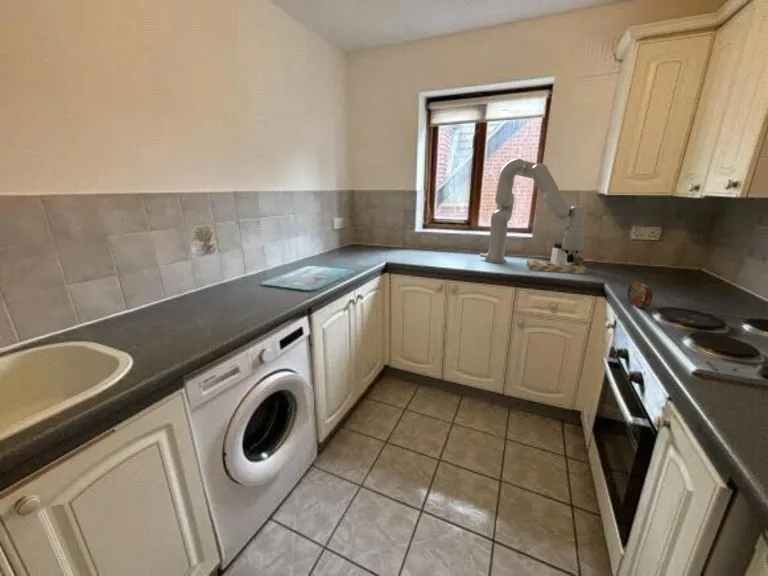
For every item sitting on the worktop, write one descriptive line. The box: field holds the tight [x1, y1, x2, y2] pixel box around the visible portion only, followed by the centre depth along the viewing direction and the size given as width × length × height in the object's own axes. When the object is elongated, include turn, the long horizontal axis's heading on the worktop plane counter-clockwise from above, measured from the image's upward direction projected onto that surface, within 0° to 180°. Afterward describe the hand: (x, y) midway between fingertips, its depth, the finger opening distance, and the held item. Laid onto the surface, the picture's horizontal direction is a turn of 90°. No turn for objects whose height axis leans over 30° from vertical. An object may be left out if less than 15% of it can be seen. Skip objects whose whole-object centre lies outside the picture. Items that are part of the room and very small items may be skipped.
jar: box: [549, 242, 568, 263], centre depth 199 cm, size 9×8×12 cm
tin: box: [626, 281, 654, 309], centre depth 128 cm, size 15×3×8 cm, turn 163°
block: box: [571, 254, 585, 265], centre depth 183 cm, size 4×4×4 cm
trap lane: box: [525, 260, 588, 275], centre depth 185 cm, size 28×13×3 cm, turn 75°
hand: (569, 261), depth 185 cm, fingers closed
